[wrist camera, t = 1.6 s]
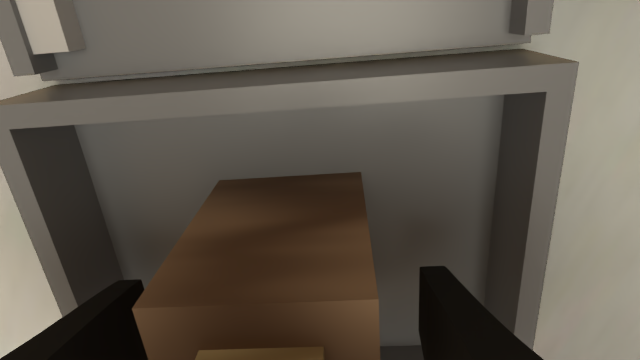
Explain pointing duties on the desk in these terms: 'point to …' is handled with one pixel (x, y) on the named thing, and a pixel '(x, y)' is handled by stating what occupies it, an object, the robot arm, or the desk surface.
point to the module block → (268, 276)
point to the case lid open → (246, 31)
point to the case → (306, 169)
